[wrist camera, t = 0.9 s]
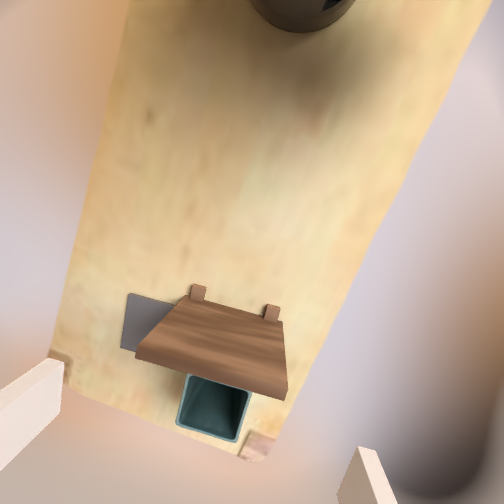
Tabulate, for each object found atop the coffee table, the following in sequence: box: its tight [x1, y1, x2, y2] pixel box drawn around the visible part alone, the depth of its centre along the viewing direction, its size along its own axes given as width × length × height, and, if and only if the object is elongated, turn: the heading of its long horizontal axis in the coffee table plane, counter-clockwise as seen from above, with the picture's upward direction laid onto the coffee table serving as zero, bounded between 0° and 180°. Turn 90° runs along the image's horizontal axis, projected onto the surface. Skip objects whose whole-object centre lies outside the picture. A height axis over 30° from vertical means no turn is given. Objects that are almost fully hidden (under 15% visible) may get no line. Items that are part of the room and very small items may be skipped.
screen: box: [135, 284, 288, 401], centre depth 31 cm, size 6×16×14 cm, turn 76°
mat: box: [120, 293, 176, 352], centre depth 39 cm, size 10×10×1 cm
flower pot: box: [176, 373, 252, 443], centre depth 35 cm, size 9×9×9 cm
